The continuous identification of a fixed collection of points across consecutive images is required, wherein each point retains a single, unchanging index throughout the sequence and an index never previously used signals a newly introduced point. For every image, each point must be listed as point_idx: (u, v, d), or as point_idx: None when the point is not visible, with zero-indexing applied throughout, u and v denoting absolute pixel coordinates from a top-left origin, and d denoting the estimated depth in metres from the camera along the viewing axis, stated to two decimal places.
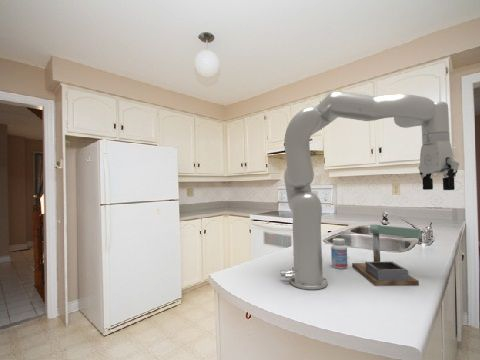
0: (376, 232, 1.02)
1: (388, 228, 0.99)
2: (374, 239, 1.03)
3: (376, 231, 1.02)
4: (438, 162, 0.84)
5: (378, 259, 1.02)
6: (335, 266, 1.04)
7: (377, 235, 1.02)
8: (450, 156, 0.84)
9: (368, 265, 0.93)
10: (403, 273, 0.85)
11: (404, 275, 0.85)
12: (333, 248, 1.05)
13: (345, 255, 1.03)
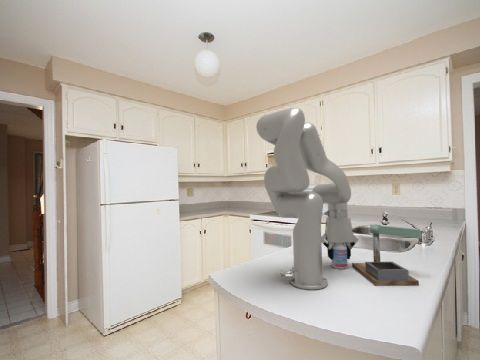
0: (376, 232, 1.02)
1: (388, 228, 0.99)
2: (374, 239, 1.03)
3: (376, 231, 1.02)
4: (352, 235, 1.03)
5: (378, 259, 1.02)
6: (335, 266, 1.04)
7: (377, 235, 1.02)
8: None
9: (368, 265, 0.93)
10: (403, 273, 0.85)
11: (404, 275, 0.85)
12: (333, 248, 1.05)
13: (345, 255, 1.03)
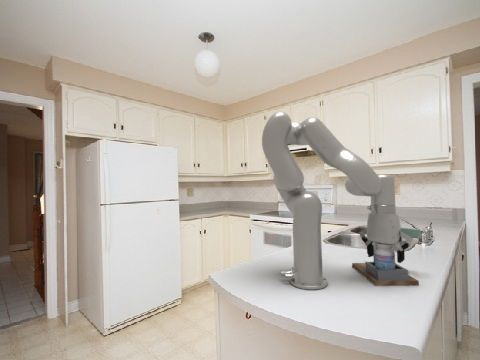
0: None
1: None
2: None
3: None
4: (395, 235, 0.86)
5: None
6: None
7: None
8: (400, 229, 0.87)
9: (368, 265, 0.93)
10: (403, 273, 0.85)
11: (404, 275, 0.85)
12: (375, 252, 0.92)
13: (387, 262, 0.88)
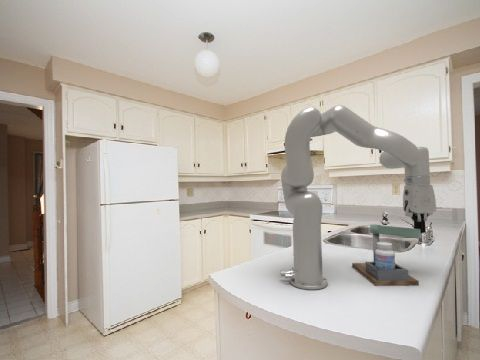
0: (376, 232, 1.02)
1: (388, 228, 0.99)
2: (374, 239, 1.03)
3: (376, 231, 1.02)
4: (435, 203, 0.93)
5: None
6: None
7: (377, 235, 1.02)
8: None
9: (368, 265, 0.93)
10: (403, 273, 0.85)
11: (404, 275, 0.85)
12: (375, 252, 0.92)
13: (387, 262, 0.88)
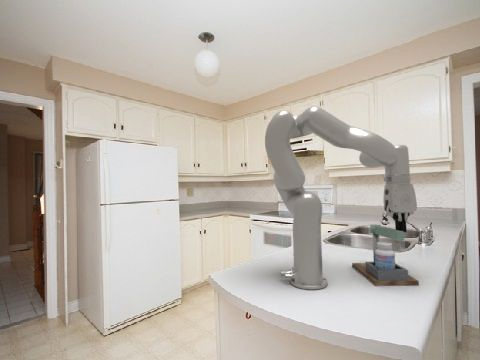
0: (373, 232, 1.02)
1: (380, 228, 0.98)
2: (374, 239, 1.03)
3: (373, 231, 1.02)
4: (416, 202, 0.91)
5: None
6: None
7: (377, 235, 1.02)
8: None
9: (368, 265, 0.93)
10: (403, 273, 0.85)
11: (404, 275, 0.85)
12: (375, 252, 0.92)
13: (387, 262, 0.88)
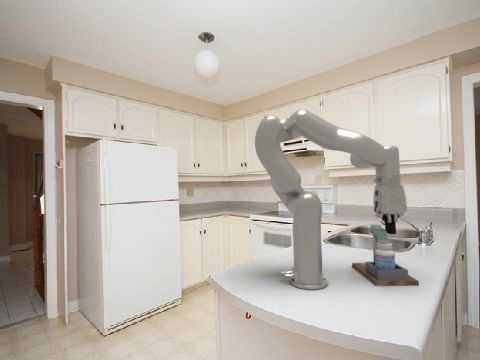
0: (371, 231, 1.03)
1: (374, 228, 0.99)
2: (374, 239, 1.03)
3: (371, 230, 1.03)
4: (406, 204, 0.90)
5: None
6: None
7: None
8: None
9: (368, 265, 0.93)
10: (403, 273, 0.85)
11: (404, 275, 0.85)
12: (375, 252, 0.92)
13: (387, 262, 0.88)
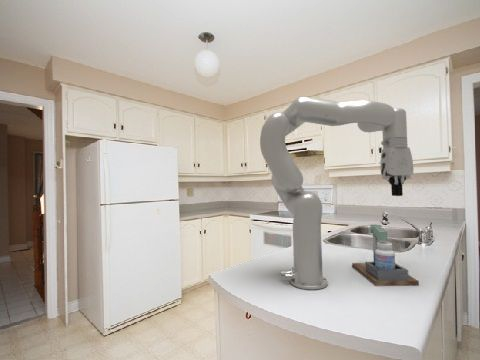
0: (371, 231, 1.03)
1: (374, 228, 0.99)
2: (374, 239, 1.03)
3: (371, 230, 1.03)
4: (412, 166, 0.91)
5: None
6: None
7: None
8: None
9: (368, 265, 0.93)
10: (403, 273, 0.85)
11: (404, 275, 0.85)
12: (375, 252, 0.92)
13: (387, 262, 0.88)
